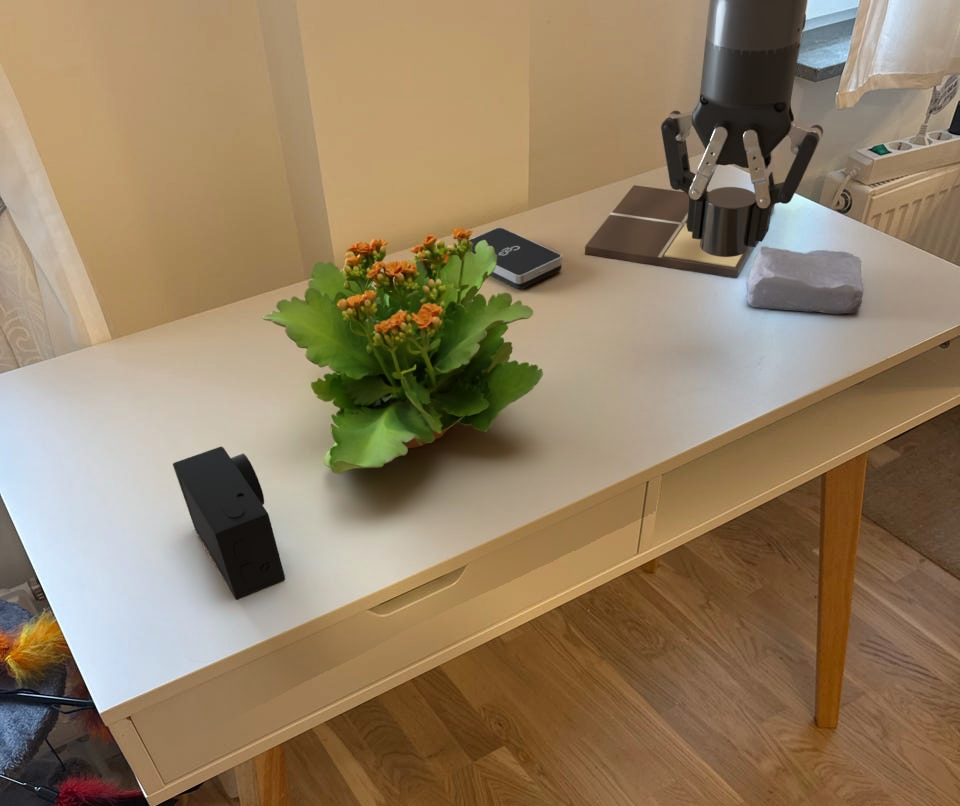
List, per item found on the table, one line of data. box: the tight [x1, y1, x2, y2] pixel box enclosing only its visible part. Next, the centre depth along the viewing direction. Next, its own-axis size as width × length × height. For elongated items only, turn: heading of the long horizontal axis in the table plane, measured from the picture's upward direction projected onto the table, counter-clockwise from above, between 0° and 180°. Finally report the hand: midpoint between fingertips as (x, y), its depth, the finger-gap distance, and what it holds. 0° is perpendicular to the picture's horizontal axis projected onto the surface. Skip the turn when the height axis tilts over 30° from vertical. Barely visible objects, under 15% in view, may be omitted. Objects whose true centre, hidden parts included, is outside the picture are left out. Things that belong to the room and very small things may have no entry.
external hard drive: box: [468, 226, 563, 290], centre depth 111 cm, size 7×11×2 cm, turn 41°
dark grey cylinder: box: [700, 186, 757, 257], centre depth 89 cm, size 5×5×4 cm
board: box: [584, 184, 776, 279], centre depth 115 cm, size 18×18×1 cm
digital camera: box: [172, 446, 286, 600], centre depth 77 cm, size 10×5×7 cm, turn 30°
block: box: [745, 245, 864, 315], centre depth 104 cm, size 12×5×10 cm
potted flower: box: [262, 227, 544, 475], centre depth 86 cm, size 25×24×18 cm
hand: (726, 238), depth 90 cm, fingers closed on dark grey cylinder, 4 cm apart
